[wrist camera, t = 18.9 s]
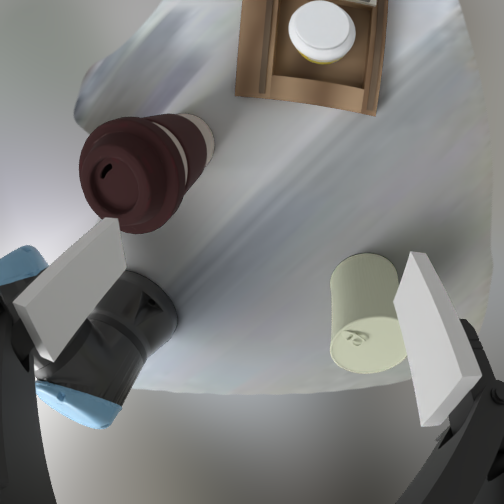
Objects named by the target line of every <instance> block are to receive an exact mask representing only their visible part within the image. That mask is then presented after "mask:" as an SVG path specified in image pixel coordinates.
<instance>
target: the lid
mask: <svg viewBox="0 0 504 504" xmlns="http://www.w3.org/2000/svg"><path fill="white" fill-rule="evenodd" d="M345 1H350V2H355V3H360V4H365V5H369V6H374V7H375V6H376V3H377V0H345Z"/></svg>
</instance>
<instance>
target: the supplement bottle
mask: <svg viewBox="0 0 504 504" xmlns="http://www.w3.org/2000/svg"><path fill="white" fill-rule="evenodd" d="M355 35H356V31H355V26H354V23H353V21H352V19H351V17H350V16H349V15H348V14H347V13H346V12H345V11H344V10H343V9H342V8H340V7H339V6H337V5H336V4H334V3H331V2H328V1H323V0H317V1H311V2H308V3H306V4H304V5H303V6H301V7H300V8H298V9H297V10H296V11H295V12H294V13H293V15H292V17H291V19H290V22H289V36H290V39H291V41H292V43H293V45H294V46H295V47H296V49H297V50H298V52H299V53H300V54H301V55H302V56H303V57H304V58H305V59H307V60H309V61H310V62H313V63H316V64H321V65H325V64H332V63H335V62H337V61H339V60H340V59H342V58H343V57H344V56H345V55H346V54H347V52H348V51H349V50H350V49H351V47H352V46H353V44H354V41H355Z"/></svg>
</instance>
